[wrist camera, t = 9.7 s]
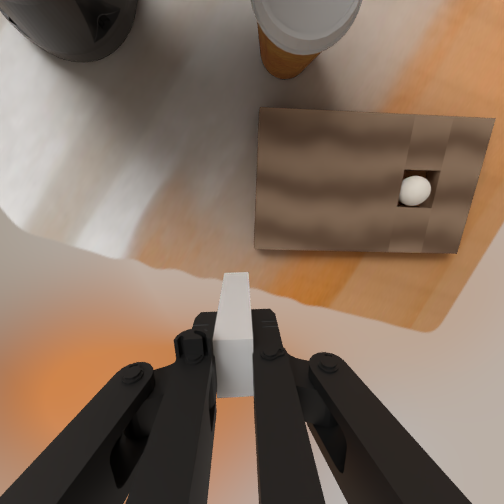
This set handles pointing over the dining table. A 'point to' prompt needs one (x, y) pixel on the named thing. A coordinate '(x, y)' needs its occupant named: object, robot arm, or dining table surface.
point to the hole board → (364, 179)
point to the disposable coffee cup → (300, 31)
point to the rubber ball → (414, 190)
